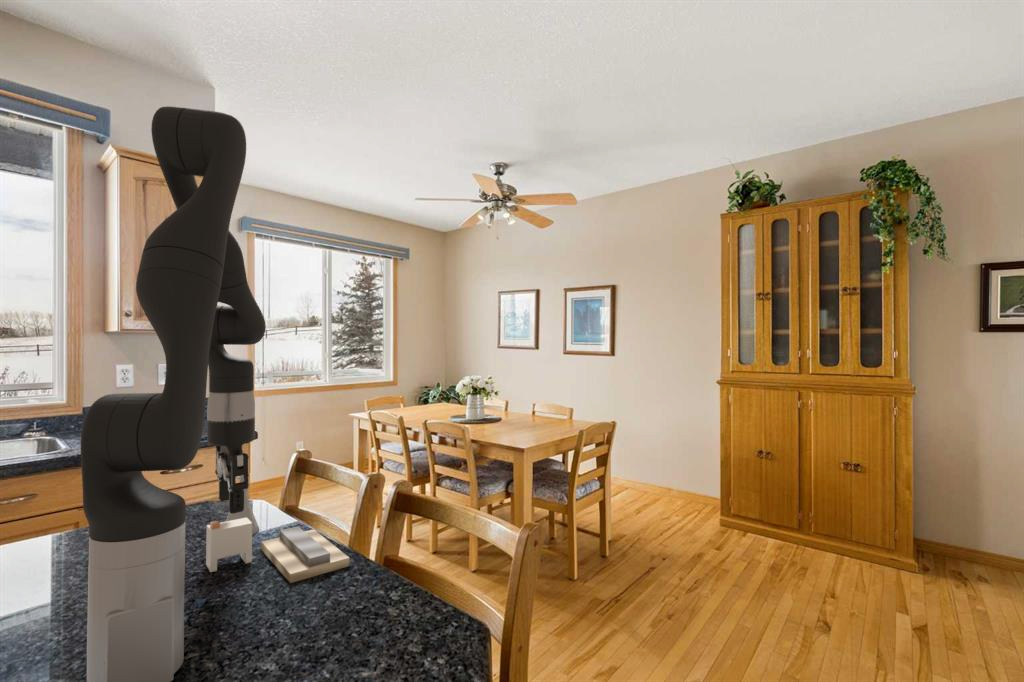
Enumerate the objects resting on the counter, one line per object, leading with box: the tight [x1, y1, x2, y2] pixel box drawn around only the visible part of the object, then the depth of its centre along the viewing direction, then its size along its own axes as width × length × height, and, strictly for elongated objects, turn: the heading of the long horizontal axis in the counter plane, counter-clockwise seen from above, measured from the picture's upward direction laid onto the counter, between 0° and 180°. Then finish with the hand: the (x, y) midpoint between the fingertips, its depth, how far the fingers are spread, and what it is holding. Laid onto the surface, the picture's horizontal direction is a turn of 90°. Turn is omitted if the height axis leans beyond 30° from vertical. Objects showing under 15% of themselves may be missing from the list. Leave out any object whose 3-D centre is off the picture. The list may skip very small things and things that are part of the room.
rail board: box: [260, 525, 350, 584], centre depth 92 cm, size 18×10×3 cm, turn 41°
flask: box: [224, 484, 260, 536], centre depth 104 cm, size 7×7×10 cm
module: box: [205, 517, 253, 573], centre depth 89 cm, size 4×6×8 cm, turn 131°
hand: (230, 505), depth 90 cm, fingers open, 8 cm apart
